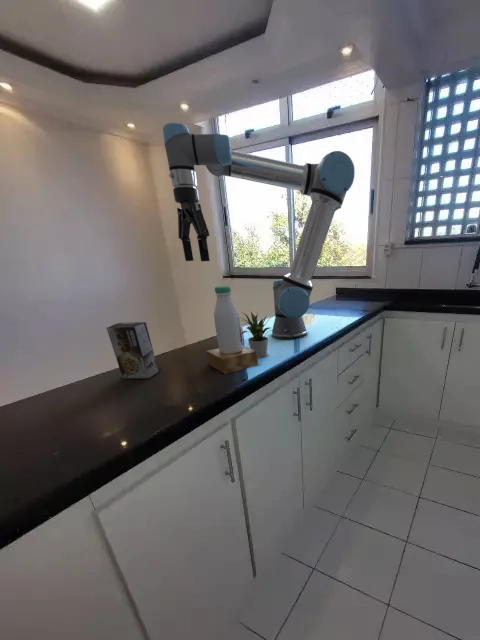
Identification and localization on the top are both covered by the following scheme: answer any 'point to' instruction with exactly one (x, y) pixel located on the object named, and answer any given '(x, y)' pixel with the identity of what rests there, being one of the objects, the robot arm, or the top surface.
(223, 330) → the milk bottle
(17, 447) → the top surface
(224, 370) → the oak block
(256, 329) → the house plant
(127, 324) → the food box
